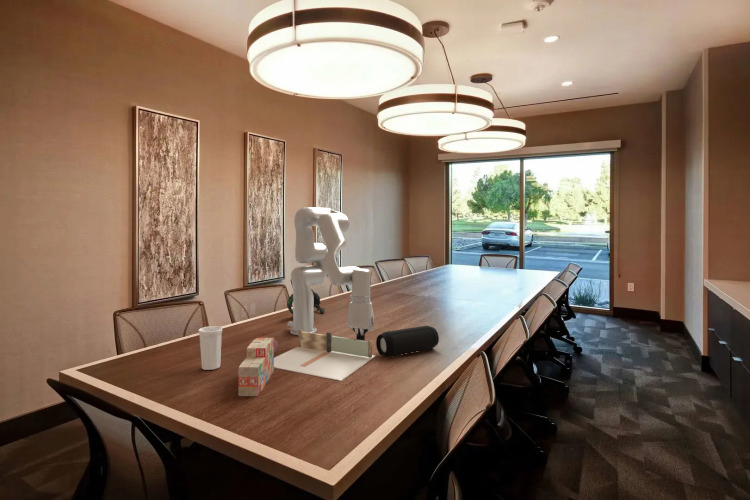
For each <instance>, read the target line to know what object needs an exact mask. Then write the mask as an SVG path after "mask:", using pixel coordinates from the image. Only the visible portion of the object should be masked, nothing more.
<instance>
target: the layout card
mask: <svg viewBox="0 0 750 500" xmlns="http://www.w3.org/2000/svg"><path fill="white" fill-rule="evenodd" d="M375 357H376V354H375V355H374V354H372V357H371V358H369V357H364V356H358V355H352V354H346V353H340V352H334V351H331V352H327V351H321V350H315V349H309V348H303V347H298V346H296V347H294V348H291V349H290V350H288V351H285V352H284V353H281V354H279V355H277V356H275V357H274V369H279V370H283V371H289V372H293V373H299V374H304V375H307V376H308V375H310V376H312V377H313V376H314V377H319V378H324V379H329V380H334V381H340V382H342V381H344V380H345V379H346V378H348V377H349V376H350V375H352V374H353V373H354V372H356V371H358V370H359V369H360V368H362V367H363V366H364V365H365V364H367V363H369V362H370V361H371V360H372V359H374V358H375Z"/></svg>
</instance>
